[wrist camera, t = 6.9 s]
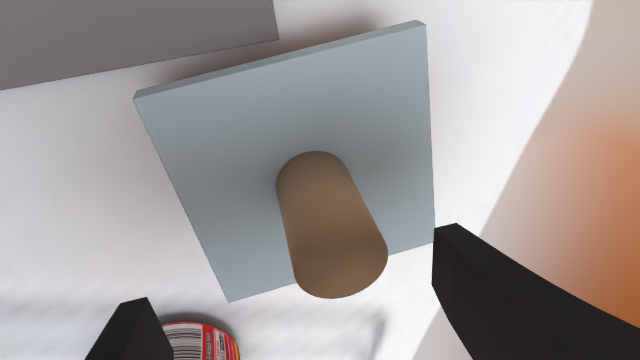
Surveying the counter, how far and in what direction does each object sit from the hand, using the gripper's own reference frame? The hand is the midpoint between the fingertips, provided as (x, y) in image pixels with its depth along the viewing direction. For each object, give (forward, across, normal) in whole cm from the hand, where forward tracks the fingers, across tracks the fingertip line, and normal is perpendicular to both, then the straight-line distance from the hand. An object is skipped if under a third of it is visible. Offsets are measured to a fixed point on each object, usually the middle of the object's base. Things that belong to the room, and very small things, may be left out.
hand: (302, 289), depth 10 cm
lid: (+6, -1, +1) cm, 7 cm away
